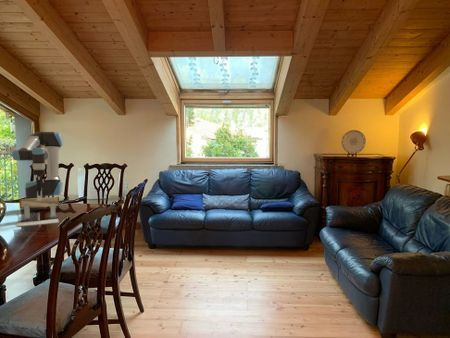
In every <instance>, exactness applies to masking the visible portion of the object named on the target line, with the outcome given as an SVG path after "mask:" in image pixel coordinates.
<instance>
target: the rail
mask: <svg viewBox="0 0 450 338" xmlns="http://www.w3.org/2000/svg"><path fill="white" fill-rule="evenodd" d="M18 201H19V209H21V210H22V209H24V205H29V208H34V207H45V208H47V207H51V204H50V203H55V207H58V206H59V207H60V196H46V197H42V200H37V198H31V199H26V198H20V199H19V200H18Z"/></svg>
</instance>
